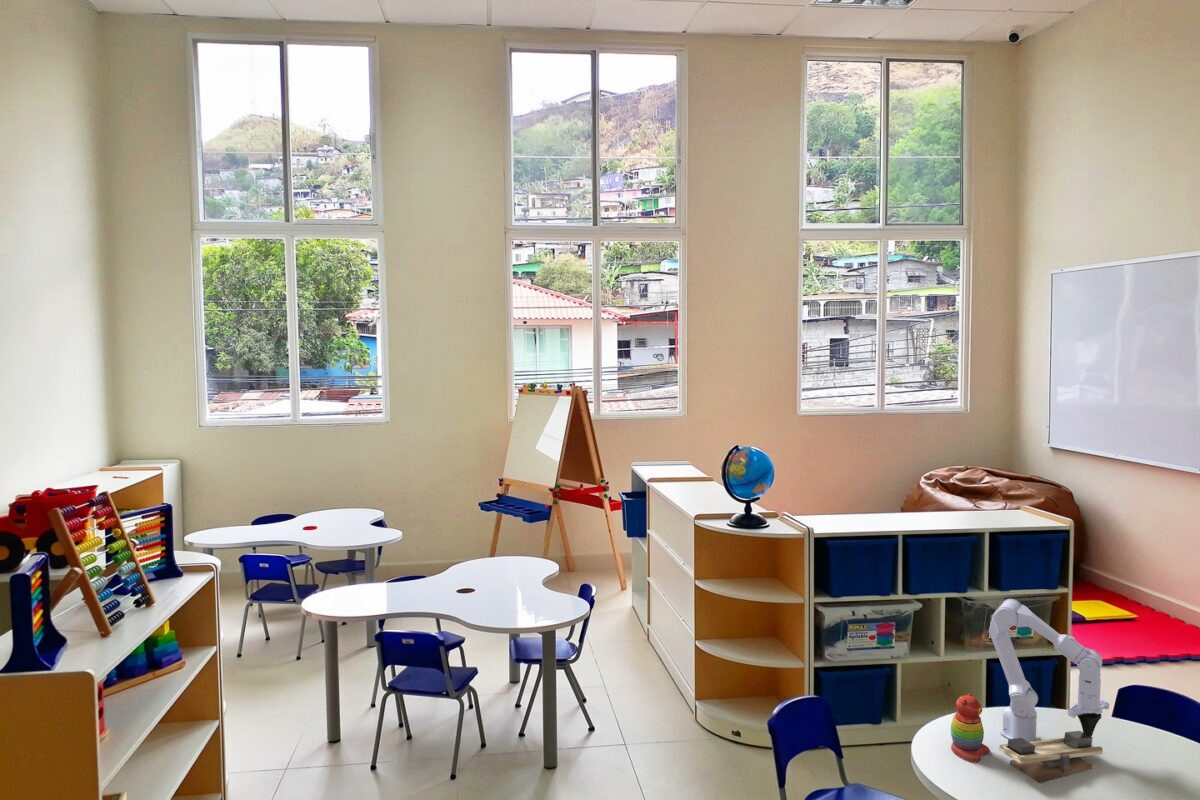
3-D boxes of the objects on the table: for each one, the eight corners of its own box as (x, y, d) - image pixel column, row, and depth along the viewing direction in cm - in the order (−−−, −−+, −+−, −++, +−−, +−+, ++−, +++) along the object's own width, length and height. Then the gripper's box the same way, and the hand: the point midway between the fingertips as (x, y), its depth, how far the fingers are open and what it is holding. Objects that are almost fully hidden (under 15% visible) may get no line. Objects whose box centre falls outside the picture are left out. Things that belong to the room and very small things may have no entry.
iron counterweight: (1007, 749, 250) (1008, 739, 250) (1020, 747, 252) (1021, 737, 252) (1020, 757, 245) (1021, 747, 245) (1033, 755, 247) (1035, 745, 247)
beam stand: (1009, 764, 255) (1010, 745, 254) (1060, 750, 262) (1061, 732, 261) (1040, 783, 245) (1040, 763, 244) (1092, 768, 251) (1092, 749, 251)
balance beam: (998, 750, 251) (999, 744, 251) (1079, 741, 262) (1080, 735, 262) (1020, 763, 244) (1021, 757, 243) (1102, 754, 255) (1103, 748, 254)
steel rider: (1063, 743, 257) (1065, 732, 257) (1078, 741, 259) (1079, 730, 259) (1076, 750, 253) (1077, 739, 253) (1091, 748, 255) (1092, 737, 255)
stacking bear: (976, 764, 256) (977, 708, 254) (943, 752, 263) (944, 697, 261) (992, 751, 263) (993, 696, 261) (960, 739, 270) (961, 686, 268)
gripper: (1082, 702, 250) (1081, 746, 251) (1119, 693, 255) (1117, 736, 256) (1062, 692, 256) (1061, 735, 258) (1098, 683, 261) (1096, 725, 263)
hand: (1087, 734), depth 257 cm, fingers closed
